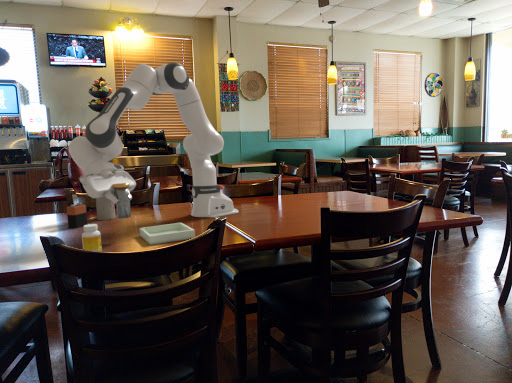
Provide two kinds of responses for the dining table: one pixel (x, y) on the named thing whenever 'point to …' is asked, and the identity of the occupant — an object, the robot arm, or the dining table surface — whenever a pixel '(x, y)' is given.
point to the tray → (166, 233)
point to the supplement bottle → (91, 238)
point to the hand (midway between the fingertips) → (124, 200)
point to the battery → (76, 215)
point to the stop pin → (122, 200)
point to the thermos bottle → (105, 208)
